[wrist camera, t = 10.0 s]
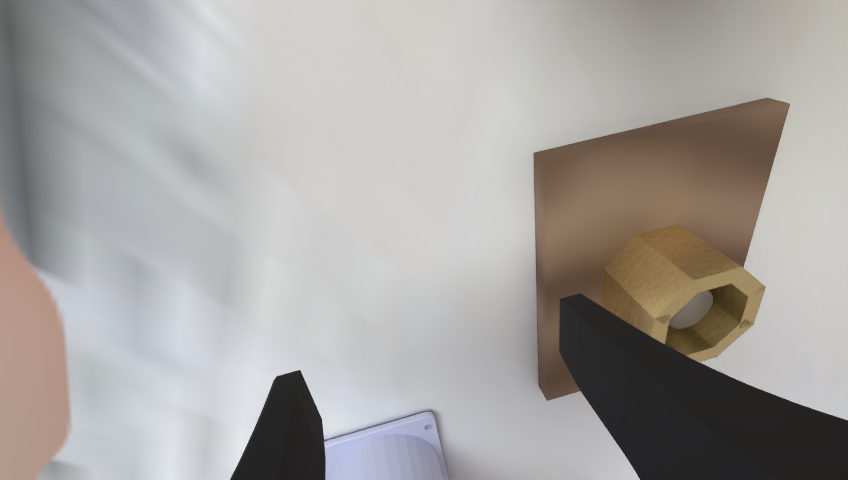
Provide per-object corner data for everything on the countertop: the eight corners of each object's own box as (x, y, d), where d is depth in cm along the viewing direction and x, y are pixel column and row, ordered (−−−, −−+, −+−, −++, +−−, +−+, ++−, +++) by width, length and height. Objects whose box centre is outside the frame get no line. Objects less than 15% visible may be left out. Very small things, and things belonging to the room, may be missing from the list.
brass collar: (688, 299, 26) (745, 348, 23) (599, 325, 25) (644, 378, 22) (707, 216, 23) (775, 257, 20) (606, 242, 22) (659, 289, 19)
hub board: (706, 336, 30) (759, 384, 26) (538, 385, 29) (570, 443, 25) (767, 97, 22) (857, 121, 18) (533, 153, 20) (581, 190, 17)
